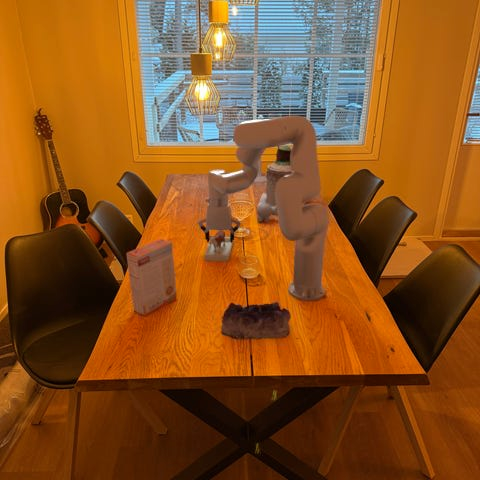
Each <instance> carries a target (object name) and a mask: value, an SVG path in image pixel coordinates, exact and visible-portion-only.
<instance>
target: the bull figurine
mask: <svg viewBox="0 0 480 480" xmlns="http://www.w3.org/2000/svg"><path fill="white" fill-rule="evenodd" d="M225 237H226V231H225V230H217V232H216V233H215V234H214V235H210V240H209V242H207V243H208V244H213V245H214V248H215V249H214V252H215V251H216V247H218V246H219V251H218V253H220V252H221V251H220V248H221V243H222V242H224V243H223V246H225Z"/></svg>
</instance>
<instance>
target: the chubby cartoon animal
mask: <svg viewBox="0 0 480 480" xmlns="http://www.w3.org/2000/svg"><path fill="white" fill-rule="evenodd" d="M258 205H259V204H258ZM258 205H257V207H256V214H257V218H256V219H257V221H258V222H259V223H261V222H265V223H269V222H270V221H271V220H270V217H271V216H276V217H278V214H277V207H276V205H275V207H271V206H270V205H269V204H267V203H262V204H260V205H259V206H258Z"/></svg>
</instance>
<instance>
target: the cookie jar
mask: <svg viewBox="0 0 480 480" xmlns="http://www.w3.org/2000/svg"><path fill="white" fill-rule="evenodd" d="M291 150H292V148H291V147H290V146H288V145H281V146H277V150H276V153H275V156H276V158H275V160H274V161H273V162H272V163H271V164H268V165H267V166H266V169H267V170H266V178H267V182H266V186H265V192H263V193H262V194H261V197H260V199H259V203H258V204H257V207H258V206H259V205H260V204H262V203H267V204H269V205H270V206H271V207H275V205H276V201H275V187H276V184H277V182H278V180H279V179H280V178H282V177H283V176H286V175H289V174H291V164H290V154H291ZM304 205H306V202H303V203H302V206H304Z"/></svg>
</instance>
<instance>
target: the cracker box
mask: <svg viewBox="0 0 480 480" xmlns="http://www.w3.org/2000/svg"><path fill="white" fill-rule="evenodd" d="M173 251H174V250H173V243H172V242H171V241H168V240H165V239H162V238H159V239H157V240H154V241H151V242H149V243H147V244H144V245H142V246H140V247H137V248H134V249H132V250H131V251H130V250H129V251H127V252H126V254H125V256H126V261H127V262H126V263H127V269H128V275H129V277H128V278H129V283H130V291H131V299H132V306H133V311H134V312H135V313H138V314H140V315H141V316H143V317H147V316H148V315H150V314H151V313H154V312H155V311H157V310H159V309H160V308H162V307H164V306H166V305H168V304H170V303H172V302H173V301H175V300H177V299H178V298H177V289H176V288H177V286H176V274H175V265H174V264H175V262H174V253H173Z"/></svg>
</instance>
